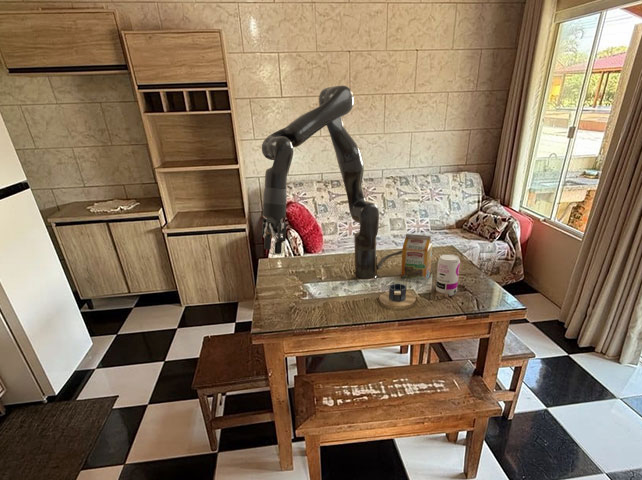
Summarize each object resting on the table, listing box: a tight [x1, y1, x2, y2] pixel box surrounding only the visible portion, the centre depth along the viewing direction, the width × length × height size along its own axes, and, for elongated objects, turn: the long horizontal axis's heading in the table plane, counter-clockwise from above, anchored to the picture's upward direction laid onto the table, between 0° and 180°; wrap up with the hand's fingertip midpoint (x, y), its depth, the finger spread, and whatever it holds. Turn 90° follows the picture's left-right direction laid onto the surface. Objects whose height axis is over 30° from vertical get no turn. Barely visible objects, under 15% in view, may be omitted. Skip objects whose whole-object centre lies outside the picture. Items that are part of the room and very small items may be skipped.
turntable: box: [378, 291, 416, 307], centre depth 158 cm, size 14×14×2 cm
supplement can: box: [435, 253, 461, 297], centre depth 160 cm, size 8×8×15 cm
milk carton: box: [400, 233, 433, 281], centre depth 175 cm, size 11×11×19 cm
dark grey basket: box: [388, 283, 407, 302], centre depth 156 cm, size 8×6×5 cm
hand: (272, 251), depth 139 cm, fingers open, 8 cm apart
